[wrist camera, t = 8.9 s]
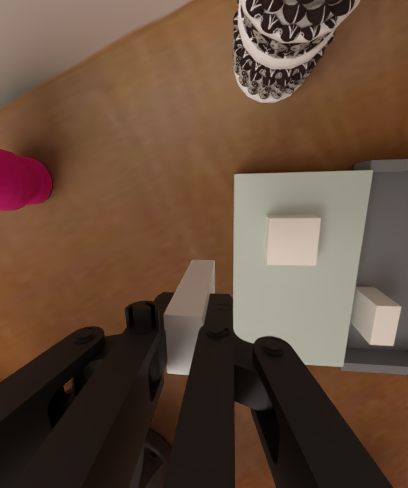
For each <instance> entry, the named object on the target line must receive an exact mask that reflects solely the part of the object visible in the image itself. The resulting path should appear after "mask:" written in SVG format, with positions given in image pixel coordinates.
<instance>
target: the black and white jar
mask: <svg viewBox="0 0 408 488" xmlns="http://www.w3.org/2000/svg"><path fill="white" fill-rule="evenodd" d="M359 2H360V0H238V1H237V7H238V11H237V12H236V13H235V15H234V20H233V23H234V27H235V28H234V32H233V34H234V40H233V58H234V73H235V77H236V80H237V83H238V86H239V87H240V88H241V89H242V91H243V92H244V93H245V94H246V95H247V97H249V98H251V99H253V100H255V101H258V102H260V103H276V102H278V101H281V100H283V99H285V98H287V97H290V96H291V95H292V94H293V93H294V92H295V91H296V90H297V89H298V88H299V87H300V86H301V85H302V84H303V83H304V82H305V79H306V78H307V77H308V76H309V75H310V73H311V70H312V69H313V68H314V67H315V66H316V64H317V62H318V60H319V59H320V58H321V57H322V56H323V54H324V51H325V49H326V46H327V45H329V44H330V43H331V41H332V40H333V38H334V34H335V29H336V27H337V26H338V25H339V24H340V23H341V22H342V21H343V20H344V19H345V18H346V17H347V16H348V15H349V14H350V13H351V12H352V11H353V10H354V9H355V8H356V7H357V6H358V4H359Z"/></svg>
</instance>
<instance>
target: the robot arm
mask: <svg viewBox="0 0 408 488" xmlns="http://www.w3.org/2000/svg"><path fill="white" fill-rule="evenodd" d="M125 315H126V324H127V328H126V329H125V330H124V332H123V333H122V334H118V335H112V336H104V331H103V329H101V328H99V327H93V326H92V327H85V328H82V329H79V330H77V331H75V332H73V333H71V334H70V335H68V336H67V337H66V338H64V339H63V340H61V341H60V342H58V343H57V344H55V345H54V346H52V347H51V348H50V349H48V350H47V351H45V352H44V353H42V354H41V355H39V356H38V357H36V358H35V359H33V360H32V361H31V362H29V363H28V364H26V365H25V366H23V367H22V368H20V369H19V370H17V371H16V372H15V373H13V374H12V375H10V376H9V377H7V378H6V379H4V380H3V381H1V382H0V488H235V430H234V401H236V402H238V403H240V404H243V405H245V406H248V407H250V408H251V413H252V416H253V419H254V422H255V425H256V428H257V431H258V434H259V437H260V440H261V443H262V446H263V449H264V452H265V455H266V458H267V461H268V464H269V467H270V470H271V473H272V476H273V479H274V482H275V485H276V488H393V487H392V485H391V484H390V483H389V481H388V480H387V478H386V477H385V476H384V474H383V473H382V471H381V470H380V469H379V467H378V466H377V464H376V463H375V462H374V460H373V459H372V458H371V456H370V455H369V453H368V452H367V451H366V449H365V448H364V446H363V445H362V444H361V442H360V441H359V439H358V438H357V437H356V435H355V434H354V432H353V431H352V430H351V428H350V427H349V425H348V424H347V423H346V421H345V420H344V419H343V417H342V416H341V414H340V413H339V412H338V410H337V409H336V407H335V406H334V405H333V403H332V402H331V400H330V399H329V398H328V396H327V395H326V393H325V392H324V391H323V389H322V388H321V386H320V385H319V384H318V382H317V381H316V380H315V378H314V377H313V375H312V374H311V373H310V371H309V370H308V368H307V367H306V366H305V364H304V363H303V361H302V360H301V359H300V357H299V356H298V354H297V353H296V352H295V350H294V349H293V348H292V346H291V345H290V344H289V343H288V342H286V341H284V340H283V339H281V338H278V337H274V336H264V337H260V338H258V339H257V340H255V342H254V343H250V342H247V341H245V340H242V339H241V338H239V337H238V336H237V335H236V334H235V332H234V329H233V298H232V297H231V296H230V295H229V294H215V260H192V261H191V263H190V265H189V266H188V268H187V270H186V272H185V274H184V276H183V278H182V280H181V282H180V284H179V286H178V288H177V289H176V291H175V293H170V292H163V293H161V294H160V295H158V296H157V297H156V298H155V300H154V301H139V302H135V303H132V304H130V305H128V306H127V307H126V308H125ZM166 363H167V373H169V374H181V375H188V380H187V384H186V389H185V393H184V397H183V402H182V406H181V410H180V415H179V419H178V423H177V428H176V432H175V437H174V441H173V445H172V450H171V448H170V447H169V445H168V444H167V442H166V441H165V440H164V439H163V438H162V437H160V436H159V435H158V434H156V433H155V432H153V431H151V430H149V426H150V423H151V420H152V417H153V414H154V411H155V408H156V405H157V402H158V399H159V396H160V393H161V390H162V387H163V384H164V373H163V372H164V369H165V366H166ZM70 379H71V381H72V386H73V387H72V388H70V389H69V390H68V391H66V392H65V391H64V387H63V385H65V384H66V383H67V382H68V381H69V380H70Z"/></svg>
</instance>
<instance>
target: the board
mask: <svg viewBox="0 0 408 488" xmlns="http://www.w3.org/2000/svg"><path fill="white" fill-rule="evenodd" d="M372 175H373V170H360V171H326V172H291V173H256V174H234V241H233V329H234V332H235V334H236V335H237V336H238V337H239V338H241V339H242V340H245V341H247V342H250V343H254V342H255V340H257V339H258V338H260V337H264V336H274V337H278V338H281V339H283V340H284V341H286V342H288V343H289V344H290V345H291V346H292V348H293V349H294V350H295V352H296V353H297V354H298V356H299V357H300V359H301V360H302V361H303V363H304V364H305V365H320V366H336V367H343V365H344V358H345V352H346V345H347V338H348V332H349V325H350V319H351V312H352V306H353V299H354V293H355V286H356V280H357V273H358V266H359V260H360V253H361V247H362V240H363V234H364V227H365V221H366V214H367V208H368V201H369V195H370V188H371V181H372ZM266 215H314V216H317V217H320V218H321V223H320V232H319V242H318V251H317V261H316V266H302V265H267V264H266V262H265V259H264V241H265V218H266Z"/></svg>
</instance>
